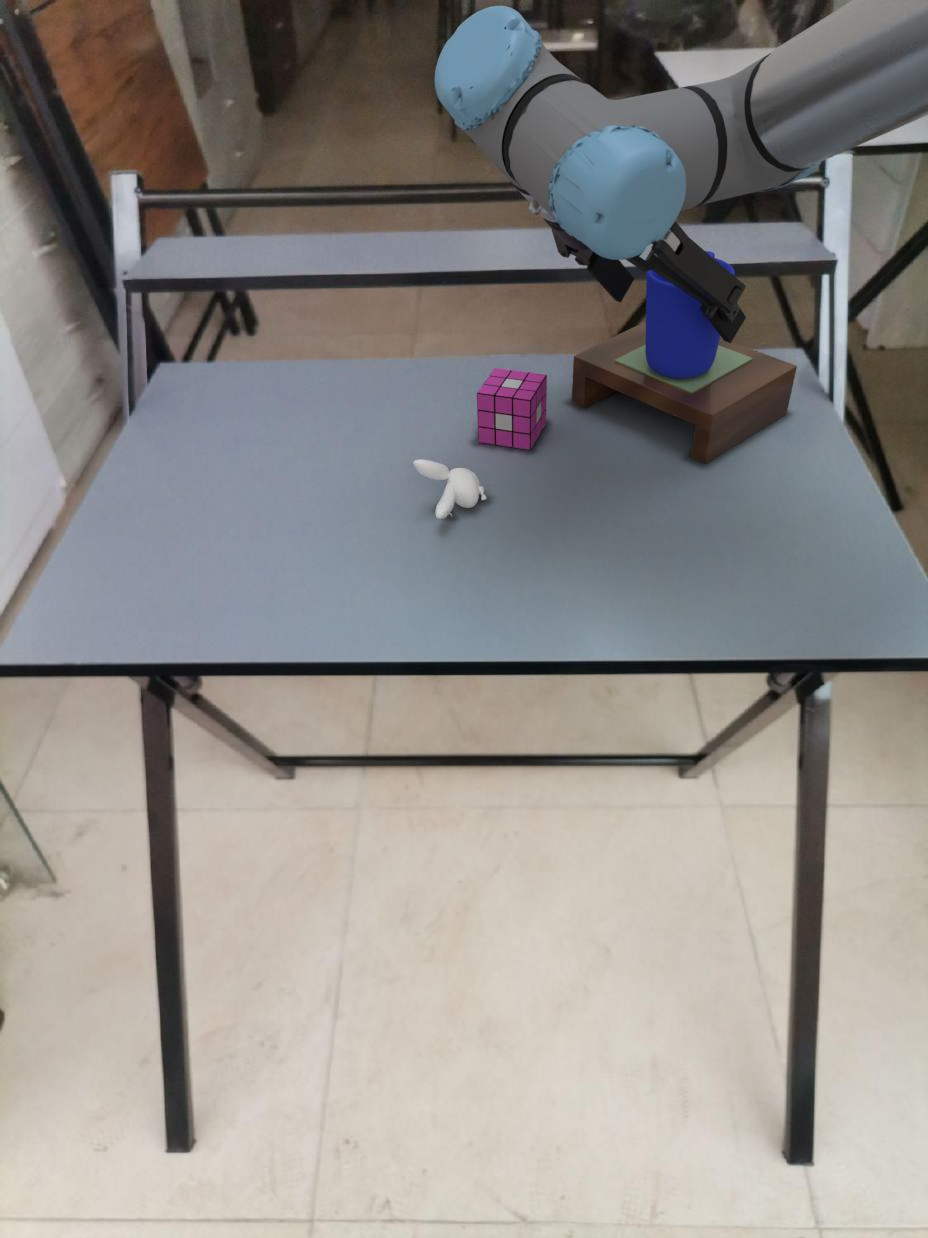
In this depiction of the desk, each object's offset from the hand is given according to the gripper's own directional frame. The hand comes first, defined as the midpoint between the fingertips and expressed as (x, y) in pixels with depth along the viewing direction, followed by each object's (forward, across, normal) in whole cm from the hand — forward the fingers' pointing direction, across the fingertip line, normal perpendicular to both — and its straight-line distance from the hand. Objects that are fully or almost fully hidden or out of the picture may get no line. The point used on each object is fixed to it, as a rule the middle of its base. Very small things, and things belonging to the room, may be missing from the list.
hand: (677, 308), depth 90 cm
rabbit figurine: (-11, -3, -28) cm, 30 cm away
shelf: (+10, 0, -7) cm, 12 cm away
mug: (+6, 0, -3) cm, 7 cm away
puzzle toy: (-1, -9, -18) cm, 20 cm away
